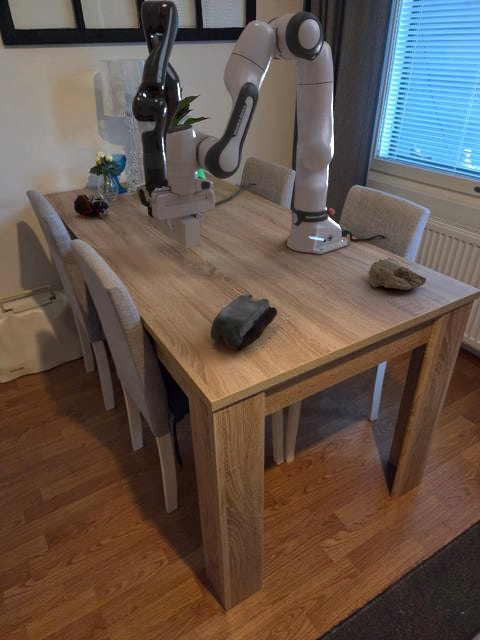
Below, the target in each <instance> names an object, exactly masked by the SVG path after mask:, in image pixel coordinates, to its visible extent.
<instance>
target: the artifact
mask: <svg viewBox="0 0 480 640" xmlns="http://www.w3.org/2000/svg"><path fill="white" fill-rule="evenodd" d="M368 276H369V279H368V280H369V284H370V285H371V286H372V288H374V289H376V288H379V287H384V288H386V289H387V288H388V289H393V288H394V289H398V290H404V291H405V290H406V291H409V290H411V289H413V288H415V289H416V288H417V289H418V288H419V287H421V286H423V285H425V283H426V282H427V278H426V277H425V276H423V275H420V274H418V273H416V272H414V271H413V270H411V269H409V268H408V267H405V266H403V265H401V263H400V262H398V261H397V260H396V259H394V258H393V257H388V258H385V259H379V260H378V261H374V262H373V263H372V264H371V266H370V268H369V271H368Z"/></svg>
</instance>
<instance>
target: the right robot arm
mask: <svg viewBox="0 0 480 640" xmlns="http://www.w3.org/2000/svg"><path fill="white" fill-rule="evenodd" d="M322 27H323V26H322V24H321V21H320V19H319V18H318V17H317V16H316V15H315V14H314V13H311V12H309V11H298V12H288V13H285V14H284V15H282V16H277V17H274V18H272V19H270V20H269V21H268V22H266V21H263V20H257V19H256V20H252V21H250V22H249V23H248V24H246V26H245V28H244V29H243V30H242V32H241V34H240V35H239V37H238V39H237V40H236V43H235V44H234V46H233V48H232V51H231V53H230V55H229V58H228V60H227V62H226V65H225V69H224V72H223V77H222V78H223V83H224V86H225V90H226V91H227V92H228V94H229V95H230V97H231V100H232V101H231V103H232V106H231V109H230V112H229V115H228V119H227V121H226V124H225V127H224V130H223V133H222V135H221V136H220V137H219V138H218V137H216V136H214V135H210V134H208V133H205V132H203V131H201V130H198V129H197V128H195V127H194V126H193V125H192V124H189V123H184V124H183V123H181V124H177V125H173V126H171V128H170V129H169V130H168V132H167V135H166V161H167V176H168V186H167V187H162V188H156V189H155V190H154V191H153V192H152V193H151V199H152V215H153V217H154V218H155V219H157V220H159V221H161V220H164V221H165V223H166V224H167V225H168V231H169V232H174V231H175V226H173V225H171V224H170V222H171V218H176V217H181V216H186V215H192V214H196V215H198V216H197V217H196V219H198V220H199V221H200V227H202V226H203V225H202V224H203V223H202V222H203V219H204V217H205V213H206V212H211V211H212V212H213V211H214V209H215V207H216V205H215V203H216V198H215V192H214V190H213V189H212V188H213V187H214V184H213V181H211V180H209V179H207V178H206V177H205V178H206V179H205V178H202V177H198V175H197V172H198V170H199V169H203V171H206V172H208V173H209V174H211V175H212V176H213V177H214V178H216V179H219V180H225V179H229V178H231V177H233V176H234V175H235V174H236V173H237V172H238V170H239V168H240V166H241V164H242V163H241V162H242V154H243V147H244V144H245V142H246V138H247V137H248V136H247V135H248V133H249V130H250V127H251V124H252V121H253V118H254V115H255V112H256V110H257V107H258V103H259V96H260V95H259V94H260V90H261V87H262V84H263V82H264V79H265V78H266V75H267V72H268V70H269V67H270V65H271V63H272V62H273V60H286V61H289V60H293V62H294V65H295V69H296V117H297V120H296V121H297V123H296V124H297V142H296V155H295V157H296V158H295V176H294V177H295V178H294V179H295V181H294V195H293V206H292V209H291V226H290V231H289V235H288V239H287V241H286V246H287V247H288V248H289V249H291V250H293V251H296V252H301V253H310V254H315V255H322V254H326V253H329V252H331V251H334V250H337V249H341V248H344V247H347V246H348V241H347V239H346V238H347V237H348V235H349V240H350V241H351V242H360V241H361V242H362V241H363V242H364V241H366V242H367V241H371V240H374V239H376V238H378V237H380V238H382V239H386V237H385V236H384V235H383V234H382V233H377V234H376V235H372V236H370V237H363V238H361V237H359V238H353V233H352V232H351V231H350V230H348V229H347V228H346V227H345V226H344V225H339V224H338V223H337V222H335V221H334V220H333V219H332V218H330V216H333V215H335V213H336V210H335V209H333V208H332V207H327V205H326V204H327V196H328V187H329V182H328V181H329V165H330V163H331V162H332V160H333V156H334V110H333V109H334V107H333V106H334V63H333V54H332V49H331V46H330V44H329V43H328V42H327V41H325V37H324V32H323V28H322ZM155 191H156V192H155ZM197 213H198V214H197ZM329 215H330V216H329Z"/></svg>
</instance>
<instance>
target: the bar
mask: <svg viewBox="0 0 480 640" xmlns="http://www.w3.org/2000/svg"><path fill="white" fill-rule="evenodd" d="M146 208H147V209H146V210H148V207H147V206H146ZM147 219H148V224H150V225H151V226H153V227H154V228H155V229H157V230H158V231H160V232H162V233H163V234H164V235H166V236H167V237H169V238H170V239H172V240H174V242H176V243H177V244H179V245H181V246H182V247H183V248H185V249H189V248H194V247H197V246H201V245H202V244H201V226H200V221H199V220H198V219H197V217H196V218H194V217H192V216H191V215H186V216H181V217H176V218H171V222H170V224H171V225H173V226H175V231H174V232H169V231H168V225H167V224H166V223H165V221H164V220H161V221H159V220H157V219H155V218H152V217H150V216H149V214H148V213H147Z"/></svg>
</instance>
